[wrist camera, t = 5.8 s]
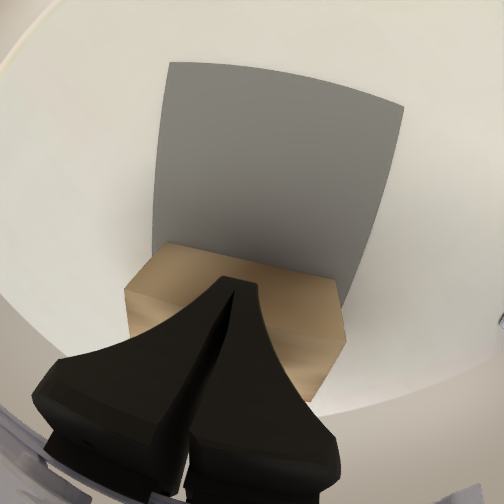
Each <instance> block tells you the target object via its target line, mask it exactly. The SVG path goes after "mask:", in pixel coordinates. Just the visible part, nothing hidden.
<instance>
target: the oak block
mask: <svg viewBox="0 0 504 504" xmlns="http://www.w3.org/2000/svg"><path fill="white" fill-rule="evenodd" d="M221 276H228V277H232V278H236V279H241V280H245V281H250V282H254V283H257V285H258V295H259V302H260V307H261V312H262V315H263V319H264V322H265V326H266V329H267V332H268V335H269V337H270V340H271V343H272V345H273V347H274V350H275V352H276V354H277V356H278V358H279V360H280V362H281V364H282V366H283V368H284V370H285V372H286V374H287V375H288V377H289V379H290V380H291V382H292V383H293V385H294V386H295V388H296V389H297V391H298V392H299V394H300V396H301V397H302V399H303V400H304V401H305V402H311V400H312V399H313V397H314V396H315V394H316V393H317V391H318V389H319V388H320V386H321V385H322V383H323V381H324V380H325V378H326V376H327V375H328V373H329V371H330V370H331V368H332V366H333V365H334V363H335V361H336V359H337V358H338V356H339V354H340V352H341V351H342V349H343V347H344V345H345V343H346V335H345V329H344V323H343V318H342V312H341V307H340V302H339V297H338V292H337V287H336V282H335V280H333V279H329V278H324V277H320V276H315V275H310V274H306V273H301V272H297V271H292V270H288V269H283V268H279V267H274V266H270V265H265V264H261V263H257V262H252V261H248V260H243V259H239V258H235V257H230V256H226V255H221V254H217V253H213V252H208V251H204V250H200V249H195V248H191V247H187V246H182V245H178V244H174V243H169V242H165V243H164V244H163V246H162V247H161V248H160V249H159V250H158V251H157V252H156V253H155V254H154V255H153V256H152V258H151V259H150V260H149V261H148V262H147V263H146V264H145V265H144V266H143V268H142V269H141V270H140V271H139V272H138V273H137V274H136V276H135V277H134V278H133V279H132V280H131V281H130V282H129V284H128V285H127V286H126V287H125V288H124V293H125V302H126V310H127V318H128V325H129V332H130V338H133V337H135V336H137V335H139V334H141V333H143V332H145V331H147V330H149V329H151V328H153V327H155V326H157V325H158V324H160V323H162V322H163V321H165V320H167V319H168V318H170V317H171V316H173V315H174V314H176V313H177V312H179V311H180V310H181V309H183V308H184V307H186V306H187V305H188V304H190V303H191V302H192V301H193V300H195V299H196V298H197V297H198V296H200V295H201V294H202V293H203V292H204V291H205V290H207V289H208V288H209V287H210V286H211V285H212V284H213V283H214V282H215V281H216V280H217V279H218V278H219V277H221Z"/></svg>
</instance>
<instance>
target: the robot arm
mask: <svg viewBox="0 0 504 504" xmlns="http://www.w3.org/2000/svg"><path fill="white" fill-rule="evenodd" d="M500 326H501V328H503V329H504V317H503V318H502V320H501V322H500ZM31 396H32V399H33V403H34V405H35V407H36V408H37V410H38V411H39V412H40V414H41V415H42V416H43V417H44V419H45V420H46V421H47V423H48V424H49V425H50V426H51V427H52V429H53V430H54V431H53V432H52V434H51V436H50V438H49V439H48V440H47V439H45V438H44V437H42V436H41V435H40V434H38V433H36V432H35V431H34V430H32V429H31V428H30V427H28V426H27V425H26V424H24V423H23V422H22V421H20V420H19V419H18V418H16V417H15V416H14V415H13V414H12V413H10V412H9V411H8V410H7V409H6V408H4V407H3V406H2V405H1V404H0V504H91V501H92V497H91V496H89V495H87V494H86V493H84V492H82V491H81V490H79V489H78V488H76V487H75V486H73V485H72V484H70V483H69V482H68V481H67V480H65V479H63V478H62V477H60V476H58V475H57V474H56V473H54V472H53V471H51V470H50V469H48V465H47V463H46V462H48V463H49V464H51V465H52V466H54V467H55V468H57V469H59V470H60V471H62V472H64V473H65V474H67V475H68V476H70V477H72V478H73V479H75V480H77V481H79V482H81V483H82V484H84V485H86V486H88V487H90V488H92V489H94V490H96V491H98V492H100V493H102V494H104V495H106V496H108V497H110V498H112V499H115V500H117V501H119V502H121V503H124V504H319V494H320V492H322V491H324V490H325V489H327V488H329V487H330V486H332V485H333V484H335V483H336V482H337V481H338V480H339V479H340V475H341V463H340V456H339V450H338V446H337V442H336V438H335V436H334V435H333V434H332V433H331V432H330V431H329V430H328V429H327V428H326V427H325V426H324V425H323V424H322V422H321V421H320V420H319V419H318V418H317V417H316V415H315V414H314V413H313V412H312V410H311V409H310V408H309V407H308V405H307V404H306V403H305V401H304V400H303V399H302V397H301V396H300V394H299V392H298V391H297V389H296V388H295V386H294V385H293V383H292V382H291V380H290V379H289V377H288V375H287V374H286V372H285V370H284V368H283V366H282V364H281V362H280V360H279V358H278V356H277V354H276V352H275V350H274V347H273V345H272V343H271V340H270V337H269V335H268V332H267V329H266V326H265V322H264V319H263V315H262V312H261V307H260V302H259V295H258V285H257V283H254V282H250V281H245V280H241V279H236V278H232V277H228V276H221V277H219V278H218V279H217V280H216V281H215V282H214V283H213V284H212V285H211V286H210V287H209V288H208V289H207V290H205V291H204V292H203V293H202V294H201V295H200V296H198V297H197V298H196V299H195V300H193V301H192V302H191V303H190V304H188V305H187V306H186V307H184V308H183V309H181V310H180V311H179V312H177V313H176V314H174V315H173V316H171V317H170V318H168V319H167V320H165V321H163V322H162V323H160V324H158V325H157V326H155V327H153V328H151V329H149V330H147V331H145V332H143V333H141V334H139V335H137V336H135V337H133V338H130V339H128V340H126V341H124V342H121V343H118V344H115V345H113V346H110V347H107V348H104V349H100V350H97V351H94V352H90V353H86V354H82V355H77V356H73V357H68V358H63V359H58V360H57V361H56V362H55V364H54V365H53V366H52V367H51V368H50V369H49V371H48V372H47V373H46V375H45V376H44V378H43V379H42V380H41V382H40V383H39V385H38V386H37V387H36V389H35V391H34V392H33V394H32V395H31ZM188 453H189V463H190V464H189V468H188V471H187V474H186V478H185V481H184V484H183V488H185V491H186V497H187V499H186V502H183V501H179V500H176V499H173V498H170V497H172V496H174V495H176V494H178V491H179V487H180V483H181V479H182V476H183V472H184V468H185V464H186V460H187V456H188ZM430 504H484V501H483V495H482V490H481V484H479V483H478V484H476V485H473V486H470V487H468V488H465V489H462V490H460V491H457V492H455V493H452V494H450V495H449V496H446V497H444V498H443V499H441V500H440V501H437V502H434V503H430Z"/></svg>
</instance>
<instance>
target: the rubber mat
mask: <svg viewBox="0 0 504 504" xmlns="http://www.w3.org/2000/svg"><path fill="white" fill-rule="evenodd" d="M403 111H404V106H401V105H399V104H396V103H393V102H391V101H388V100H385V99H382V98H380V97H377V96H374V95H371V94H368V93H365V92H362V91H358V90H355V89H352V88H348V87H345V86H341V85H338V84H334V83H330V82H326V81H322V80H318V79H314V78H310V77H305V76H300V75H295V74H290V73H285V72H279V71H274V70H267V69H261V68H253V67H245V66H236V65H226V64H213V63H192V62H170V63H169V69H168V74H167V80H166V86H165V92H164V99H163V105H162V113H161V120H160V128H159V137H158V147H157V157H156V169H155V183H154V201H153V228H152V256H153V255H154V254H155V253H156V252H157V251H158V250H159V249H160V248H161V247H162V246H163V244H164V243H165V242H169V243H174V244H178V245H182V246H187V247H191V248H195V249H200V250H204V251H208V252H213V253H217V254H221V255H226V256H230V257H235V258H239V259H243V260H248V261H252V262H257V263H261V264H265V265H270V266H274V267H279V268H283V269H288V270H292V271H297V272H301V273H306V274H310V275H315V276H320V277H324V278H329V279H333V280H335V282H336V287H337V292H338V297H339V302H340V307H341V308H342V305H343V303H344V301H345V298H346V296H347V293H348V291H349V288H350V286H351V284H352V281H353V279H354V276H355V273H356V271H357V268H358V266H359V263H360V260H361V258H362V255H363V252H364V249H365V247H366V244H367V241H368V238H369V235H370V232H371V229H372V227H373V224H374V220H375V217H376V214H377V211H378V208H379V205H380V202H381V198H382V195H383V192H384V188H385V185H386V181H387V178H388V174H389V171H390V167H391V163H392V159H393V155H394V151H395V147H396V143H397V139H398V135H399V130H400V126H401V121H402V116H403Z"/></svg>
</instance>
